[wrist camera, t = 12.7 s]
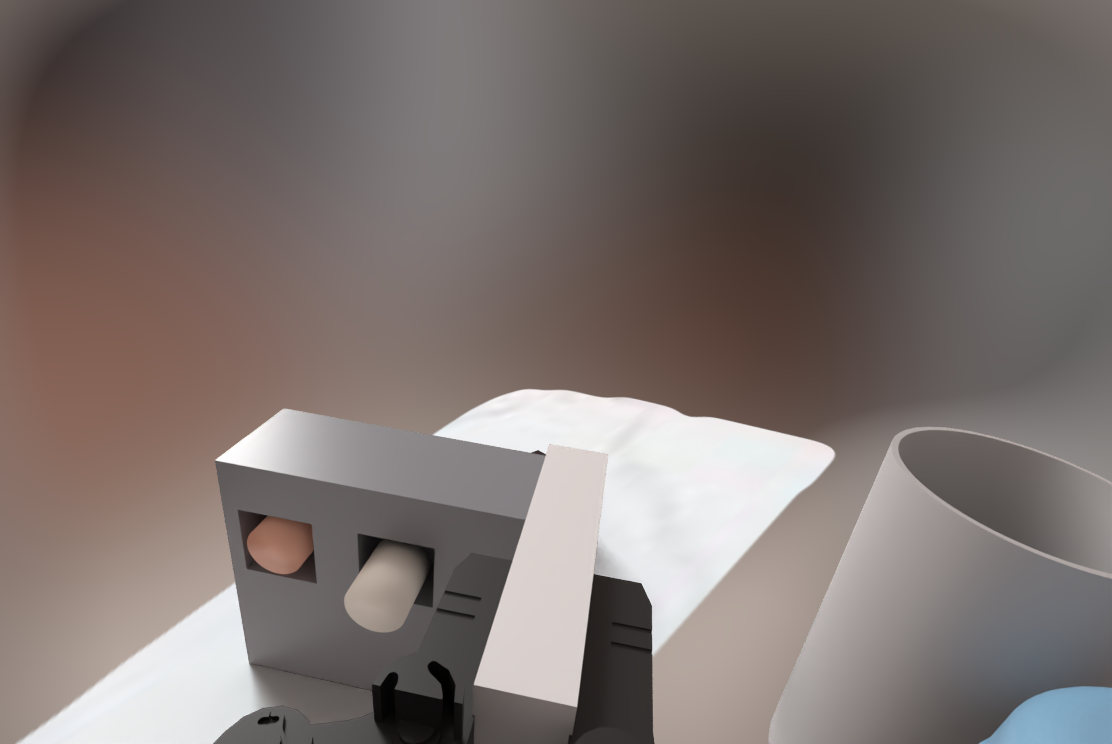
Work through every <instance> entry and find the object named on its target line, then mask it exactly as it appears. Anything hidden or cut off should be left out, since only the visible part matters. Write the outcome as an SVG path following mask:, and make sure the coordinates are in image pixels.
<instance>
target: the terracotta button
mask: <svg viewBox="0 0 1112 744" xmlns="http://www.w3.org/2000/svg"><path fill="white" fill-rule="evenodd" d="M247 547H248V550H249V552H250V554H251V556H252V557H253V559H254V560H255V561H256V562H257V563H258V564H259V565H261V566H262V567H263V568H265V569H267V570H269V571H271V572H274V573H278V574H290V573H293V572H295V571H297V570H298V569H299V568H300V567H301V565H302V564H303V563H304V562H305V560H306V559H307V558H308V557H309V555H310V554H311V553H312V552H313V550H314V544H313V533H312V524H308V523H303V522H298V521H293V520H288V519H283V518H278V517H273V516H267V517H266V518H265V519H264V520H263V521H262V522H261V523H260V524H259V525H258V526H257V527H256V528H255V529H254V530H253V531H252V532H251V533H250V534H249V536H248V539H247Z"/></svg>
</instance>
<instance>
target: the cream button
mask: <svg viewBox="0 0 1112 744" xmlns="http://www.w3.org/2000/svg"><path fill="white" fill-rule="evenodd" d="M429 570H430V560H429V558H428V555H427V554H426V552H425V551H424V550H423V549H422V548H421V547H420V546H419V545H414V544H408V543H403V542H398V541H393V540H388V539H384V540H382V541H381V542H380V543H379V544H378V545H377V547H376V548H375V550H374V551H373V553H372V554H371V556H370V557H369V559H368V560H367V562H366V563H365V565H364V567H363V568H362V570H361V571H360V573H359V574H358V576H357V577H356V579H355V580H354V582H353V583H352V585H351V586H350V588H349V589H348V591H347V593H346V594H345V597H344V605H345V609H346V611H347V613H348V614H349V616H350V617H351V618H352V619H353V620H354V621H355V622H356V623H358V624H359V625H360V626H362V627H364V628H366V629H368V630H371V631H375V632H382V633H385V632H392V631H395V630H397V629H399V628H400V627H401V626H402V625H403V624H404V622H405V620H406V618H407V616H408V614H409V611H410V609H411V607H412V605H413V603H414V601H415V599H416V597H417V595H418V593H419V591H420V589H421V587H422V585H423V583H424V581H425V579H426V577H427V575H428V573H429Z"/></svg>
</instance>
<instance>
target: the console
mask: <svg viewBox="0 0 1112 744" xmlns="http://www.w3.org/2000/svg"><path fill="white" fill-rule="evenodd" d="M545 457H546V456H544V455H539V454H533V453H528V452H522V451H517V450H511V449H505V448H500V447H494V446H489V445H483V444H478V443H472V442H467V441H461V440H456V439H450V438H445V437H439V436H433V435H428V434H422V433H417V432H411V431H406V430H400V429H395V428H389V427H384V426H378V425H372V424H367V423H362V422H356V421H350V420H345V419H339V418H333V417H328V416H322V415H317V414H312V413H306V412H300V411H295V410H290V409H283V410H282V411H280V412H279V413H278V414H276V415H275V416H273V417H272V418H271V419H269V420H268V421H267V422H265V423H264V424H263V425H261V426H260V427H259V428H257V429H256V430H255V431H253V432H252V433H251V434H250V435H248V436H247V437H245V438H244V439H243V440H241V441H240V442H239V443H237V444H236V445H235V446H234V447H232V448H231V449H229V450H228V451H227V452H225V453H224V454H223V455H221V456H220V457H219V458H217V459H216V460H215V463H216V469H217V475H218V481H219V487H220V493H221V499H222V505H223V511H224V517H225V523H226V529H227V535H228V540H229V546H230V552H231V558H232V564H233V570H234V575H235V582H236V588H237V594H238V600H239V606H240V612H241V618H242V624H243V630H244V636H245V641H246V647H247V653H248V659H249V663H252V664H256V665H261V666H265V667H270V668H274V669H278V670H283V671H287V672H292V673H296V674H301V675H305V676H310V677H314V678H319V679H323V680H327V681H332V682H336V683H341V684H345V685H350V686H354V687H359V688H363V689H367V690H372V683H373V682H374V680H375V679H376V678H377V676H378V675H379V674H380V672H381V671H382V670H383V668H385V667H386V666H388V665H389V664H390V663H392V662H393V661H395V660H396V659H397V658H399V657H402V656H405V655H409V654H412V653H415V652H418V649H419V647H420V645H421V643H422V640H423V638H424V636H425V634H426V631H427V629H428V627H429V625H430V622H431V620H432V618H433V616H434V613H436V610H437V607H438V604H439V602H440V600H441V598H442V595H444V592H445V589H446V586H447V584H448V582H449V579H450V577H451V575H452V573H453V570H454V569H455V568H456V567H457V566H458V565H459V564H460V563H461V562H462V561H463V560H464V559H466V558H467V557H468V556H469V555H470V554H471V553H476V554H481V555H486V556H492V557H497V558H502V559H507V560H513V558H514V555H515V552H516V549H517V545H518V542H519V539H520V536H521V533H522V529H523V526H524V523H525V520H526V517H527V514H528V510H529V507H530V504H531V501H532V498H533V495H534V491H535V488H536V485H537V482H538V479H539V476H540V472H541V469H542V466H543V463H544V460H545ZM267 516H273V517H278V518H283V519H288V520H293V521H298V522H303V523H308V524H312V533H313V544H314V550H313V552H312V553H311V554H310V555H309V557H308V558H307V559H306V560H305V562H304V563H303V564H302V565H301V567H300V568H299V569H298V570H297V571H295V572H293V573H290V574H278V573H274V572H271V571H269V570H267V569H265V568H263V567H262V566H261V565H259V564H258V563H257V562H256V561H255V560H254V559H253V557H252V556H251V554H250V552H249V550H248V547H247V539H248V536H249V534H250V533H251V532H252V531H253V530H254V529H255V528H256V527H257V526H258V525H259V524H260V523H261V522H262V521H263V520H264V519H265V518H266V517H267ZM384 539H388V540H393V541H398V542H403V543H408V544H414V545H419V546H420V547H421V548H422V549H423V550H424V551H425V552H426V554H427V555H428V558H429V560H430V570H429V573H428V575H427V577H426V579H425V581H424V583H423V585H422V587H421V589H420V591H419V593H418V595H417V597H416V599H415V601H414V603H413V605H412V607H411V609H410V611H409V614H408V616H407V618H406V620H405V622H404V624H403V625H402V626H401V627H400V628H399V629H397V630H395V631H392V632H385V633H382V632H375V631H371V630H368V629H366V628H364V627H362V626H360V625H359V624H358V623H356V622H355V621H354V620H353V619H352V618H351V617H350V616H349V614H348V613H347V611H346V609H345V605H344V597H345V594H346V593H347V591H348V589H349V588H350V586H351V585H352V583H353V582H354V580H355V579H356V577H357V576H358V574H359V573H360V571H361V570H362V568H363V567H364V565H365V563H366V562H367V560H368V559H369V557H370V556H371V554H372V553H373V551H374V550H375V548H376V547H377V545H378V544H379V543H380V542H381V541H382V540H384Z"/></svg>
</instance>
